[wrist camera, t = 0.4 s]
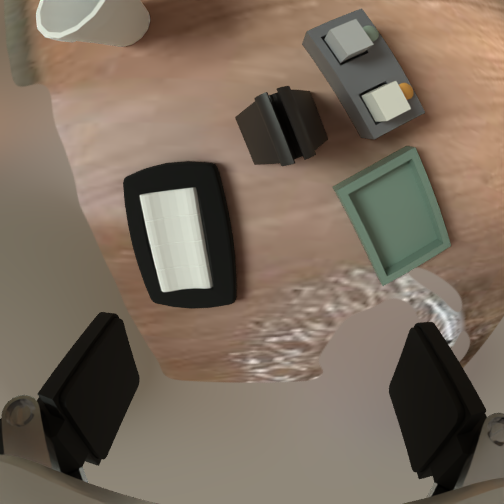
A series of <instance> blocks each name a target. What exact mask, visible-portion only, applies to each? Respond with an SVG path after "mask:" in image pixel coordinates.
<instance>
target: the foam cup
mask: <svg viewBox="0 0 504 504" xmlns="http://www.w3.org/2000/svg"><path fill="white" fill-rule="evenodd" d="M36 21H37V29H38V30H39V31H40V32H41V33H42V34H43V35H44V37H46V38H50V39H54V40H58V41H65V42H75V41H82V42H90V43H98V44H105V45H112V46H118V47H125V46H129V45H132V44H134V43H135V42H137V41H138V40H140V39H141V38H142V37H143V35H144V34H145V33H146V31H147V30H148V27H149V23H150V16H149V12H148V11H147V9H146V7H145V6H144V5H143V3H142V2H141V0H40V3H39V6H38V9H37V12H36Z"/></svg>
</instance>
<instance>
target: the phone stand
mask: <svg viewBox="0 0 504 504" xmlns="http://www.w3.org/2000/svg"><path fill="white" fill-rule="evenodd" d="M277 91H278V93H274V94H272V95H268V93H267V92H266V93H263V94H261V95H259V96H257V97H256V98H255V102H254V103H253V104H251V105H250V106H249V107H247V108H246V109H245V110H244V111H242V112H241V113H240V114H239V115H237V116H236V117H235V118H236V121H237V123H238V125H239V128H240V130H241V133H242V135H243V138H244V140H245V142H246V145H247V147H248V150H249V152H250V155H251V157H252V160H253V162H254V165H257V164H276V163H280V164H281V166H286V165H290V164H294V163H295V161H294V159H296V158H299V157H302V156H303V157H304V160H306V159H308V158H310V157H313V156H314V155H316V153H315V150H316V149H317V148H318V147H319V146H321V145H322V144H323V143H324V142H325V141H326V140H328V137H327V135H326V132H325V129H324V126H323V124H322V121H321V119H320V116H319V113H318V111H317V108H316V106H315V103H314V101H313V98H312V96H311V93H310V91H303V90H291V89H290V86H285V87H281V88H277Z"/></svg>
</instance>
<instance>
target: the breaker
mask: <svg viewBox="0 0 504 504" xmlns="http://www.w3.org/2000/svg"><path fill="white" fill-rule="evenodd" d="M324 40H325V42H326V43H327V45H328V46H329V47H330V49H331V50H332V52H333V53H334V55H335V56H336V58H337V59H338V60H339V62H340V63H342V62H344V61H346V60H348V59H350V58H352V57H355V56H357V55H359V54H361V53H363V52H365V51H366V50H367V49H369V48H370V47H371V46H372V45H374V44H373V42H372V41H371V39H370V38H369V37H368V35H367V34H366V32H365V31H364V29H363V28H362V27H361V25H360V24H359V22H358V21H357V20H356V19H354V20H352V21H349V22H347V23H344V24H342V25H340V26H337V27H335V28H333V29H330V30H329V32H328V34H327V35H326V37H325V39H324Z"/></svg>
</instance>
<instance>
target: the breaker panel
mask: <svg viewBox="0 0 504 504" xmlns="http://www.w3.org/2000/svg"><path fill="white" fill-rule="evenodd" d="M354 19H356V20H357V21H358V22H359V24H360V25H361V27H362V28H363V29H364V31H365V32H366V34H367V35H368V37H369V38H370V39H371V41H372V42H373V44H374V45H372V46H371V47H370V48H369V49H367V50H366V51H365V52H363V53H361V54H359V55H357V56H355V57H352V58H350V59H348V60H346V61H344V62H342V63H340V62H339V60H338V59H337V58H336V56H335V55H334V53H333V52H332V50H331V49H330V47H329V46H328V45H327V43H326V42H325V40H324V39H325V37H326V35H327V34H328V32H329V30H330V29H333V28H335V27H337V26H340V25H342V24H344V23H347V22H349V21H352V20H354ZM302 45H303V46H304V47H305V49H306V50H307V52H308V53H309V54H310V56H311V57H312V59H313V60H314V62H315V63H316V65H317V66H318V68H319V69H320V71H321V72H322V74H323V75H324V77H325V78H326V80H327V81H328V83H329V84H330V86H331V87H332V89H333V91H334V92H335V94H336V95H337V97H338V99H339V100H340V102H341V104H342V105H343V107H344V109H345V110H346V112H347V114H348V115H349V117H350V119H351V121H352V122H353V124H354V126H355V128H356V129H357V131H358V133H359V135H360V137H361V138H367V139H376V138H378V137H380V136H382V135H383V134H385V133H387V132H389V131H391V130H393V129H395V128H397V127H399V126H400V125H402V124H404V123H406V122H408V121H410V120H412V119H414V118H416V117H418V116H420V115H422V114H424V113H425V111H424V109H423V107H422V105H421V103H420V101H419V99H418V97H417V95H416V93H415V92H414V90H413V88H412V86H411V84H410V82H409V80H408V79H407V77H406V75H405V73H404V72H403V70H402V68H401V66H400V65H399V63H398V61H397V60H396V58H395V56H394V55H393V53H392V52H391V50H390V48H389V47H388V45H387V44H386V42H385V41H384V39H383V38H382V36H381V35H380V33H379V32H378V30H377V29H376V27H375V26H374V25H373V23H372V22H371V20H370V19H369V18H368V16H367V15H366V14H365V12H364V11H363V10H362V9H359V10H356V11H354V12H351V13H349V14H346V15H344V16H341V17H339V18H336V19H334V20H331V21H329V22H327V23H324V24H322V25H320V26H318V27H315V28H313V29H311V30H309V31H307V32H306V34H305V37H304V40H303V43H302ZM394 81H397V83H398V85H399V87H400V89H401V90H402V92H403V94H404V96H405V98H406V100H407V102H408V104H409V105H410V107H411V109H410V110H408V111H406V112H404V113H402V114H400V115H398V116H396V117H394V118H392V119H390V120H388V121H376V122H375V120H374V118H373V117H372V115H371V113H370V111H369V109H368V108H367V106H366V104H365V102H364V101H363V99H362V97H361V96H362V95H364V94H366V93H368V92H370V91H372V90H374V89H376V88H378V87H381V86H383V85H385V84H388V83H391V82H394Z"/></svg>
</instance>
